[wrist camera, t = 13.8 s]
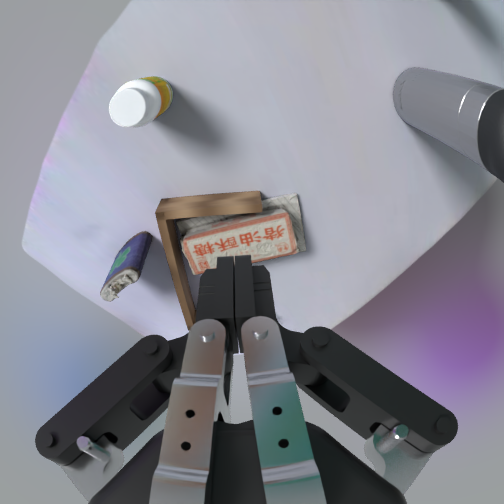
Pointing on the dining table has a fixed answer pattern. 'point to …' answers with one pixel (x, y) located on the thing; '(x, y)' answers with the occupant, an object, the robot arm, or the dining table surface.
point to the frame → (196, 208)
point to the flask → (127, 265)
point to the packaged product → (244, 234)
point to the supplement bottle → (140, 101)
